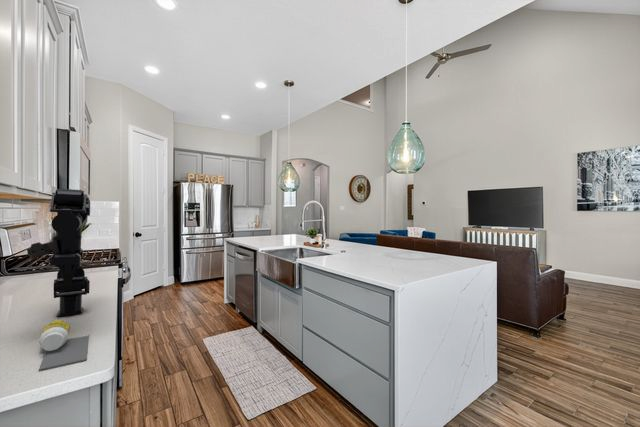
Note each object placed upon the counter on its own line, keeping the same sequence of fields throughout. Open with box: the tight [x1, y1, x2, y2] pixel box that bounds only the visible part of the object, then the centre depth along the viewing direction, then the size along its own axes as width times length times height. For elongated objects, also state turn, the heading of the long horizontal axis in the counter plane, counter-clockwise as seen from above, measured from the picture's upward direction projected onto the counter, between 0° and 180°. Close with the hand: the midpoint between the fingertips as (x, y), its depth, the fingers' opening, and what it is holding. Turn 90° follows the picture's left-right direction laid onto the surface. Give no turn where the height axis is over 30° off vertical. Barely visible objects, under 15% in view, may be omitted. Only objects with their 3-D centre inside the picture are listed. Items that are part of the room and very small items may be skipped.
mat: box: [38, 335, 90, 372], centre depth 70 cm, size 16×8×1 cm, turn 38°
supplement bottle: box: [38, 319, 70, 351], centre depth 73 cm, size 5×5×10 cm
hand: (67, 285), depth 84 cm, fingers closed
